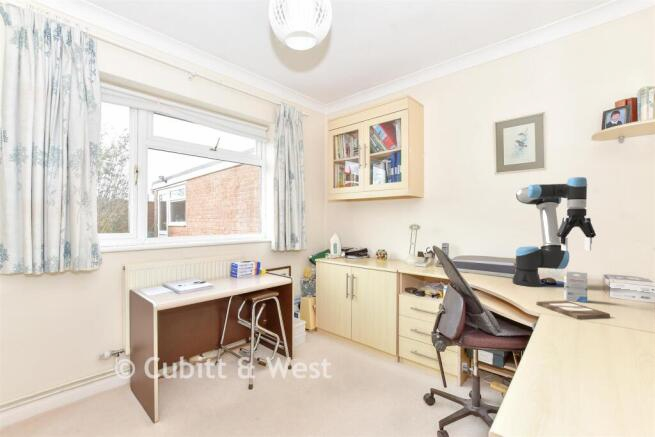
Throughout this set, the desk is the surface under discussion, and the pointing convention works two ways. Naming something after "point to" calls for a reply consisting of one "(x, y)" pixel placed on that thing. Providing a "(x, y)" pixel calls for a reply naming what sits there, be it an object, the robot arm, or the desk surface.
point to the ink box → (575, 287)
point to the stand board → (573, 309)
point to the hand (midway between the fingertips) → (576, 250)
